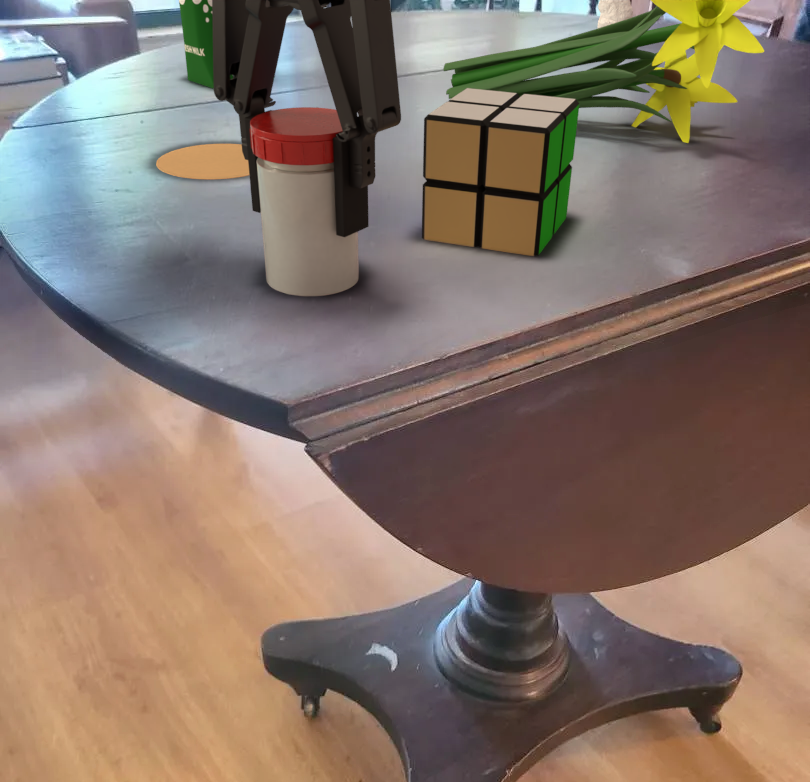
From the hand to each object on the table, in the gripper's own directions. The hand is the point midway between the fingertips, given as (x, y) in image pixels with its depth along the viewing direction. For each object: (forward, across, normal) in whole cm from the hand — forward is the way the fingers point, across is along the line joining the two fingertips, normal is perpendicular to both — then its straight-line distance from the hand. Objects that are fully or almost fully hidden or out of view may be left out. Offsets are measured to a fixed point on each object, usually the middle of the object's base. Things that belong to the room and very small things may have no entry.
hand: (309, 218), depth 68 cm
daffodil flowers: (+5, +3, -49) cm, 49 cm away
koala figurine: (+5, +24, -96) cm, 99 cm away
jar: (+5, 0, 0) cm, 5 cm away
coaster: (+5, +27, -16) cm, 32 cm away
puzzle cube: (+5, -5, -18) cm, 19 cm away
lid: (-6, 0, 0) cm, 6 cm away
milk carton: (+5, +51, -42) cm, 66 cm away
